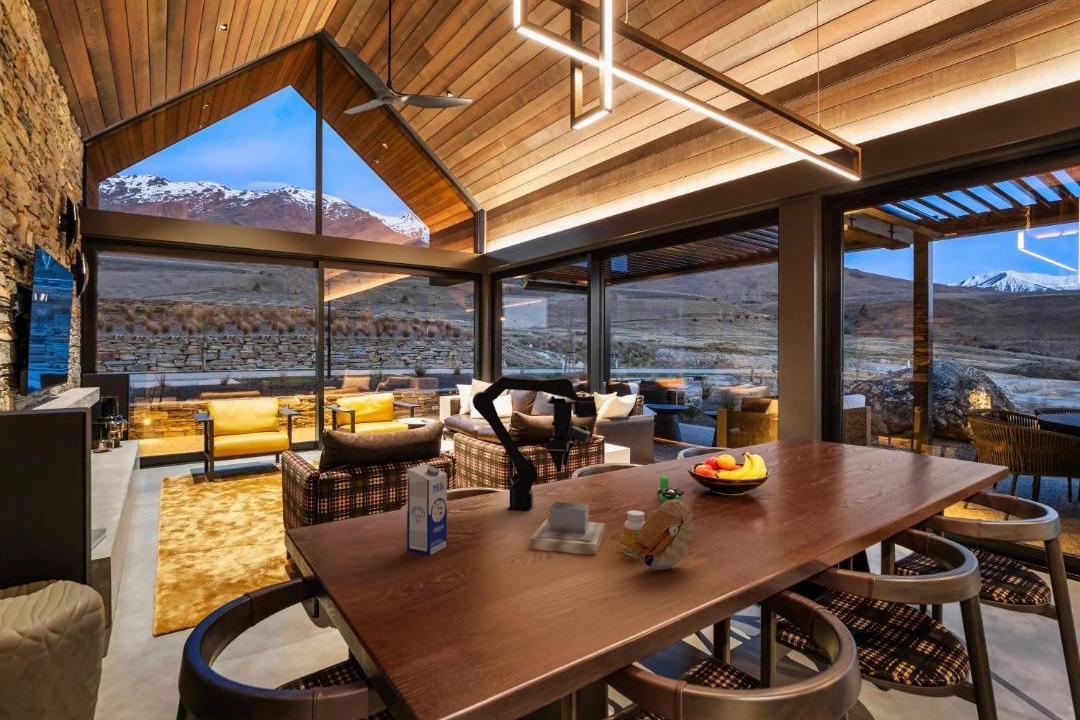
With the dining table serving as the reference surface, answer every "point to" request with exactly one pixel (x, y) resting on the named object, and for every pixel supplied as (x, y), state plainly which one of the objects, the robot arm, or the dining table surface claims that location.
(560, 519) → the block
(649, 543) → the nautilus
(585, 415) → the robot arm
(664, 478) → the mechanical part
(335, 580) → the dining table surface
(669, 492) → the valve
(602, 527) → the stand
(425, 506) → the milk carton
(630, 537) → the supplement bottle
